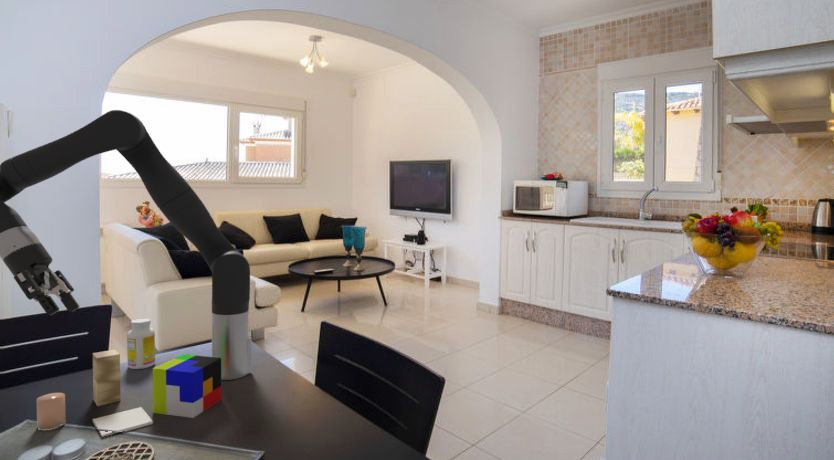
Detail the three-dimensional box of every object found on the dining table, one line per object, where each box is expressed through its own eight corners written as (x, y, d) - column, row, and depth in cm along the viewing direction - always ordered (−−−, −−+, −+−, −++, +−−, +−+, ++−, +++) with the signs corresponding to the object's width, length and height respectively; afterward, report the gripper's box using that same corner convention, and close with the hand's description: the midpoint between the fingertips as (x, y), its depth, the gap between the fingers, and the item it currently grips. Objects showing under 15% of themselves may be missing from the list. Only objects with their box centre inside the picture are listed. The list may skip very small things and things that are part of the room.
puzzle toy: (193, 418, 102) (193, 372, 102) (153, 413, 104) (152, 368, 104) (221, 399, 112) (221, 357, 112) (183, 395, 114) (183, 354, 114)
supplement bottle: (157, 361, 137) (156, 317, 136) (152, 368, 131) (152, 322, 130) (130, 362, 135) (130, 318, 134) (124, 371, 129) (124, 324, 128)
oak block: (115, 394, 113) (115, 349, 113) (120, 400, 110) (119, 354, 109) (93, 399, 110) (92, 353, 109) (97, 406, 107) (96, 358, 106)
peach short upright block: (63, 418, 101) (63, 390, 100) (67, 426, 97) (66, 397, 97) (36, 425, 97) (35, 396, 97) (38, 433, 94) (37, 403, 94)
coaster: (141, 409, 106) (141, 406, 106) (152, 423, 99) (152, 421, 99) (92, 421, 99) (92, 419, 99) (101, 438, 93) (101, 435, 93)
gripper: (18, 239, 99) (64, 303, 100) (56, 243, 113) (96, 299, 114) (-18, 260, 98) (29, 324, 98) (25, 261, 112) (65, 318, 112)
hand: (65, 311), depth 106 cm, fingers open, 8 cm apart
